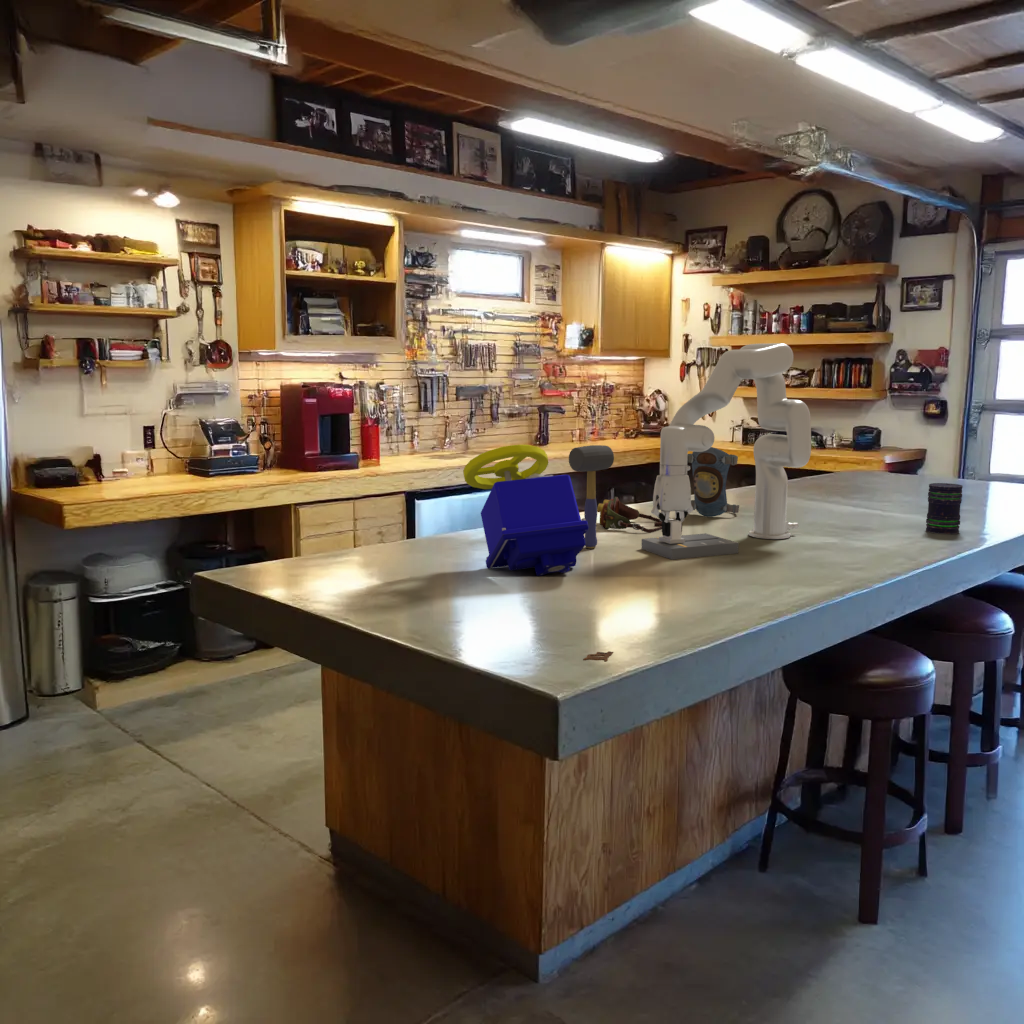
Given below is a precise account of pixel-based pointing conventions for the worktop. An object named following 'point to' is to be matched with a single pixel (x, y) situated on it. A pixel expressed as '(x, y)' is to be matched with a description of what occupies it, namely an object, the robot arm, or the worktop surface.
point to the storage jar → (944, 508)
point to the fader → (673, 533)
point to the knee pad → (711, 481)
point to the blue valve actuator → (527, 512)
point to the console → (691, 546)
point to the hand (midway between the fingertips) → (671, 534)
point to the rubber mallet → (591, 481)
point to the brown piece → (606, 655)
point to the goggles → (623, 516)
